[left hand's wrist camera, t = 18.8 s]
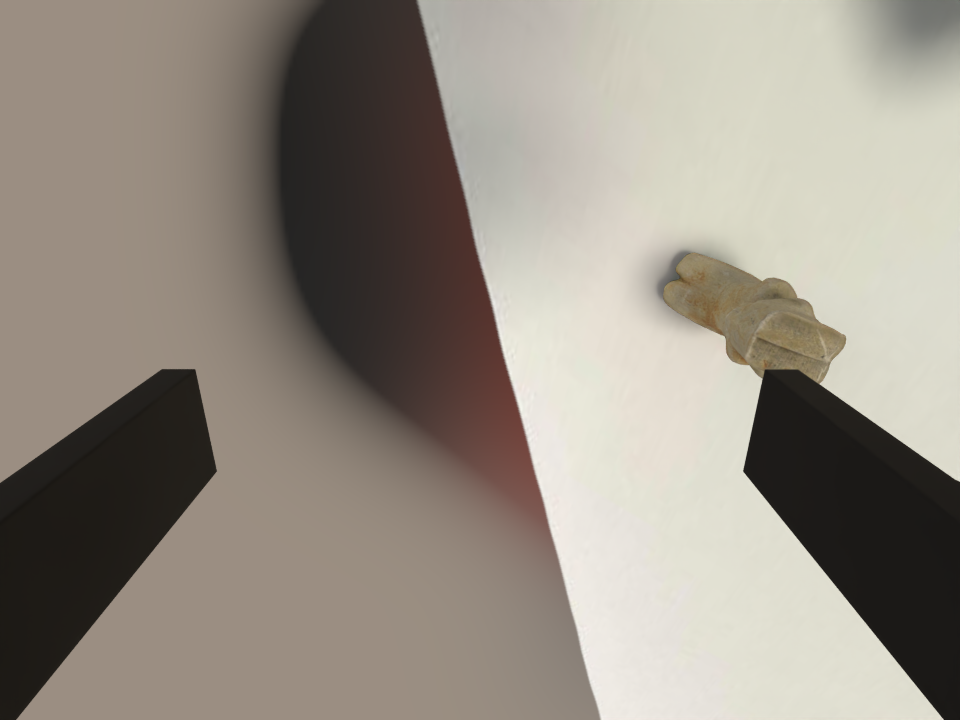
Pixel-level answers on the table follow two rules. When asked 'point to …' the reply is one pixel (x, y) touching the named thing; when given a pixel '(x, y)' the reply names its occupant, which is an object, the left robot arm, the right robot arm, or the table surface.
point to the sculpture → (754, 317)
